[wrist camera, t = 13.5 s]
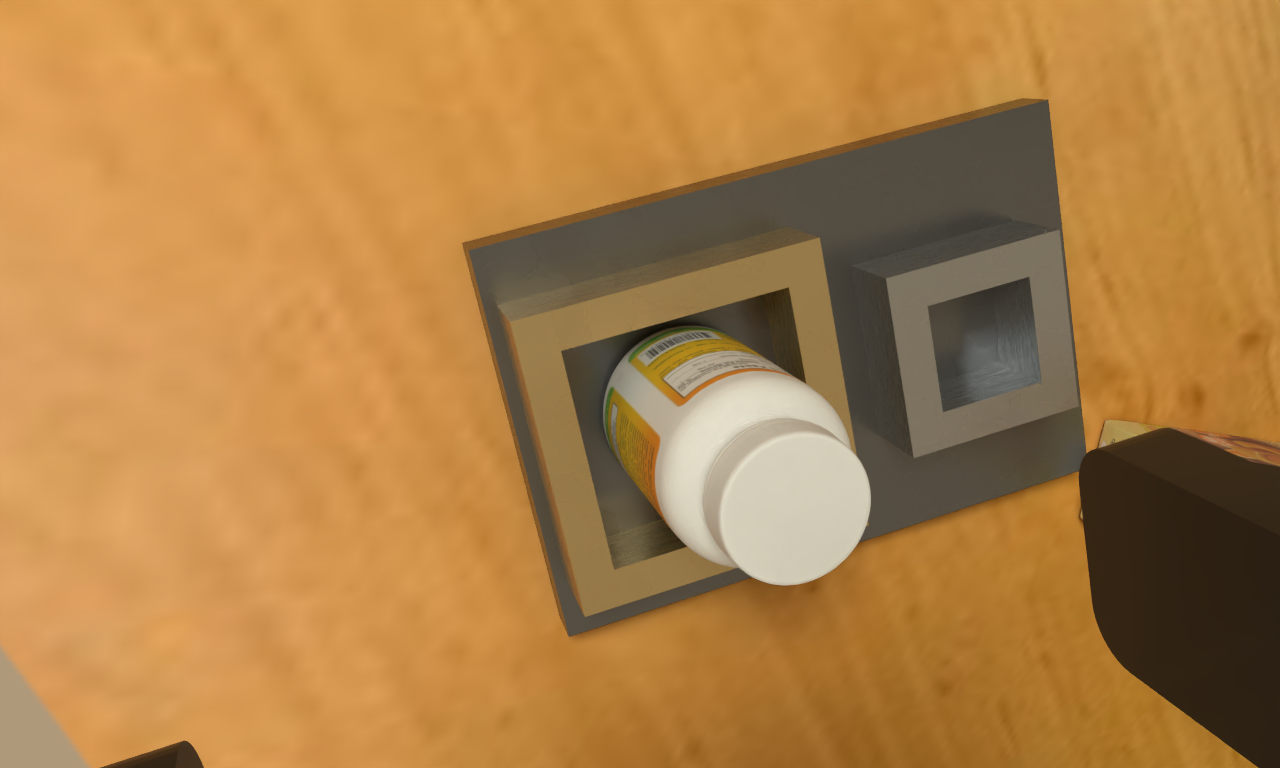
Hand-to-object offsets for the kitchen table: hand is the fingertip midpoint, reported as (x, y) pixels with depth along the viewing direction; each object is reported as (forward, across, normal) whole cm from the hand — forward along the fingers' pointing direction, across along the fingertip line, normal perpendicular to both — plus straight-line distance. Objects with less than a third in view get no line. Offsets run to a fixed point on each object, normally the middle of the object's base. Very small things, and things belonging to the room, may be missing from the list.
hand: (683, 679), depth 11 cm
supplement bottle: (+27, -7, +7) cm, 28 cm away
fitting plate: (+28, -11, +7) cm, 31 cm away
